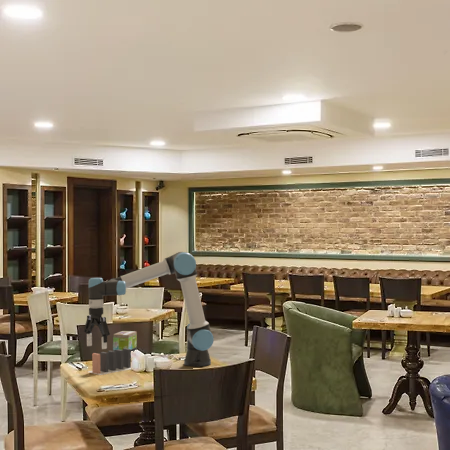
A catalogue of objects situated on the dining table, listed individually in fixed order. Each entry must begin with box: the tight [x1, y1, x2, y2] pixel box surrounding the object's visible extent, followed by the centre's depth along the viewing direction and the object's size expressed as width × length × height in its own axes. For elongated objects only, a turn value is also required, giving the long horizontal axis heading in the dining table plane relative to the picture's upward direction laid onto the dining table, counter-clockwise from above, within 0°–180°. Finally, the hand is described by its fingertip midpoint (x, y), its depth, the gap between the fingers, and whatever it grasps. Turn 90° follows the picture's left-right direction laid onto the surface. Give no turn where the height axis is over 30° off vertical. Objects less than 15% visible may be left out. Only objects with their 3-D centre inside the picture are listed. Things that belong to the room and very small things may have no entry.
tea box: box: [112, 330, 138, 351], centre depth 414 cm, size 15×10×15 cm
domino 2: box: [99, 351, 108, 372], centre depth 372 cm, size 5×2×10 cm, turn 45°
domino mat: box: [87, 367, 132, 376], centre depth 375 cm, size 12×24×1 cm, turn 135°
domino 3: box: [107, 350, 116, 371], centre depth 375 cm, size 5×2×10 cm, turn 45°
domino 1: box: [91, 352, 100, 375], centre depth 368 cm, size 5×2×10 cm, turn 45°
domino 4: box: [115, 349, 123, 369], centre depth 379 cm, size 5×2×10 cm, turn 45°
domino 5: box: [123, 348, 132, 368], centre depth 383 cm, size 5×2×10 cm, turn 45°
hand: (96, 347), depth 368 cm, fingers open, 13 cm apart
